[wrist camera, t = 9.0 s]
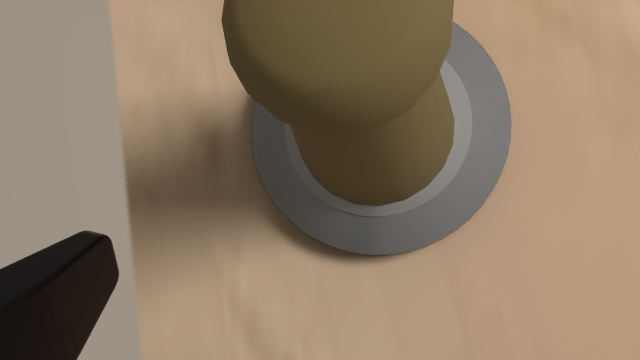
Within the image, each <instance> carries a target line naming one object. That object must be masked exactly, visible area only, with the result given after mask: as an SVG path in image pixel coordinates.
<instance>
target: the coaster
mask: <svg viewBox="0 0 640 360" xmlns="http://www.w3.org/2000/svg"><path fill="white" fill-rule="evenodd" d="M440 73H441V76H442V79H443V82H444V85H445V88H446V91H447V94H448V97H449V101H450V104H451V108H452V112H453V115H454V119H455V124H454V139H453V146H452V148H451V151H450V153H449V156H448V158H447V160H446V163H445V165H444V168H443V169H442V170H441V171H440V172H439V173H438V175H437V176H436V177H435V178H434V179H433V180H432V182H431V183H430V184H429V185H428V186H427V187H426V188H424V189H422V190H421V191H419V192H418V193H416V194H414V195H413V196H411V197H409V198H408V199H406V200H403V201H399V202H395V203H391V204H387V205H382V206H373V205H360V204H354V203H351V202H349V201H346V200H344V199H341V198H339V197H337V196H334V195H332V194H331V193H330V192H329V191H327V190H326V189H325V188H324V187H323V186H322V185H321V184H319V183H318V182H317V181H316V180H315V179H314V178H313V176H312V174H311V173H310V171H309V169H308V168H307V166H306V164H305V162H304V161H303V159H302V157H301V154H300V151H299V148H298V146H297V143H296V140H295V137H294V135H293V132H292V129H291V126H290V125H289V124H286V123H284V122H281V121H279V120H278V119H277V118H276V117H274V116H273V115H272V114H271V113H270V112H268V111H267V110H266V109H265V108H264V107H263V106H261V105H260V104H259V103H258V102H257V101H256V102H255V106H254V110H253V118H252V126H251V127H252V148H253V155H254V160H255V164H256V167H257V171H258V174H259V176H260V178H261V181H262V183H263V185H264V188H265V189H266V191H267V193H268V194H269V196H270V198H271V199H272V201H273V202H274V204H275V205H276V206H277V207H278V209H279V210H280V211H281V212H282V214H283V215H284V216H285V217H286V218H288V219H289V220H290V221H291V222H292V223H293V224H294V225H295V226H296V227H298V228H299V229H300V230H302V231H303V232H305V233H306V234H307V235H309V236H311V237H313V238H315V239H316V240H318V241H320V242H322V243H324V244H327V245H329V246H332V247H335V248H338V249H340V250H343V251H348V252H352V253H356V254H364V255H375V256H378V255H395V254H401V253H407V252H411V251H414V250H418V249H421V248H424V247H427V246H429V245H431V244H433V243H435V242H438V241H440V240H442V239H444V238H445V237H447V236H448V235H450V234H451V233H453V232H455V231H456V230H457V229H459V228H460V227H461V226H462V225H463V224H465V223H466V222H467V221H468V220H469V219H470V218H471V217H472V216H473V215H474V214H475V213H476V212H477V211H478V210H479V208H480V207H481V206H482V205H483V203H484V202H485V201H486V199H487V198H488V196H489V195H490V193H491V192H492V190H493V189H494V187H495V185H496V183H497V181H498V179H499V177H500V175H501V173H502V170H503V167H504V164H505V161H506V158H507V155H508V150H509V145H510V139H511V113H510V104H509V100H508V95H507V91H506V88H505V85H504V83H503V80H502V78H501V75H500V73H499V71H498V69H497V67H496V66H495V64H494V62H493V60H492V59H491V57H490V56H489V55H488V53H487V52H486V51H485V49H484V48H483V47H482V45H481V44H480V43H479V42H478V41H477V40H476V39H474V38H473V37H472V36H471V35H470V34H469V33H468V32H467V31H465V30H464V29H463V28H461V27H460V26H459V25H457V24H456V23H454V22H452V34H451V43H450V48H449V50H448V53H447V55H446V57H445V60H444V62H443V64H442V67H441V69H440Z"/></svg>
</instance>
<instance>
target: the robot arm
mask: <svg viewBox="0 0 640 360" xmlns="http://www.w3.org/2000/svg"><path fill="white" fill-rule="evenodd" d="M118 277H119V270H118V265H117V261H116V257H115V253H114V249H113V245H112V242H111V239H110V238H109V237H108V236H107V235H104V234H100V233H95V232H92V231H82V232H79V233H77V234H75V235H73V236H71V237H69V238H66V239H64V240H62V241H60V242H58V243H55V244H53V245H51V246H49V247H47V248H45V249H43V250H41V251H38V252H36V253H34V254H32V255H30V256H28V257H25V258H23V259H21V260H19V261H17V262H15V263H13V264H10V265H8V266H6V267H4V268H2V269H0V360H77V358H78V356H79V355H80V353H81V351H82V349H83V347H84V345H85V343H86V341H87V340H88V338H89V336H90V334H91V332H92V330H93V328H94V326H95V324H96V322H97V321H98V319H99V317H100V315H101V313H102V311H103V309H104V307H105V306H106V304H107V302H108V300H109V298H110V296H111V294H112V292H113V290H114V288H115V286H116V284H117V281H118Z"/></svg>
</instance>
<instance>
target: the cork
mask: <svg viewBox="0 0 640 360" xmlns="http://www.w3.org/2000/svg"><path fill="white" fill-rule="evenodd" d="M453 5H454V0H224V6H223V13H222V26H223V31H224V36H225V41H226V47H227V52H228V56H229V60H230V64H231V66H232V67H233V69H234V71H235V72H236V74H237V76H238V78H239V79H240V81H241V83H242V85H243V86H244V88H245V90H246V91H247V93H248V94H249V95H250V96H251V97H252V98H253V99H254V100H256V101H257V102H258V103H259V104H260V105H261V106H263V107H264V108H265V109H266V110H267V111H268V112H270V113H271V114H272V115H273V116H274V117H276V118H277V119H278V120H279V121H281V122H284V123H286V124H289V125H290V126H291V129H292V132H293V135H294V137H295V140H296V143H297V146H298V148H299V151H300V154H301V157H302V159H303V161H304V162H305V164H306V166H307V168H308V169H309V171H310V173H311V174H312V176H313V178H314V179H315V180H316V181H317V182H318V183H319V184H321V185H322V186H323V187H324V188H325V189H326V190H327V191H329V192H330V193H331V194H332V195H334V196H337V197H339V198H341V199H344V200H346V201H349V202H351V203H354V204H360V205H373V206H382V205H387V204H391V203H395V202H399V201H403V200H406V199H408V198H409V197H411V196H413V195H414V194H416V193H418V192H419V191H421V190H422V189H424V188H426V187H427V186H428V185H429V184H430V183H431V182H432V180H433V179H434V178H435V177H436V176H437V175H438V173H439V172H440V171H441V170H442V169H443V168H444V165H445V163H446V160H447V158H448V156H449V153H450V151H451V148H452V146H453V139H454V124H455V119H454V115H453V112H452V108H451V104H450V101H449V97H448V94H447V91H446V88H445V85H444V82H443V79H442V76H441V73H440V69H441V67H442V64H443V62H444V60H445V57H446V55H447V53H448V50H449V48H450V43H451V34H452V20H453Z"/></svg>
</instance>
